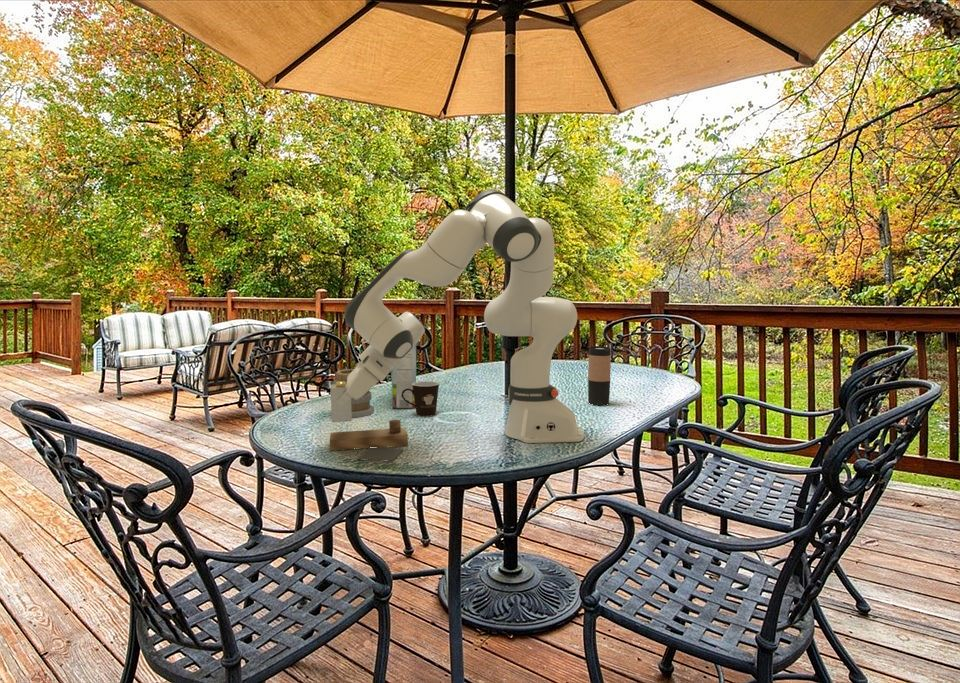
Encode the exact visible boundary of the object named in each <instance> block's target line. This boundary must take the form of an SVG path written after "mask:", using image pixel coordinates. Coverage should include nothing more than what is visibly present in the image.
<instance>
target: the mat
mask: <svg viewBox="0 0 960 683" xmlns="http://www.w3.org/2000/svg"><path fill="white" fill-rule="evenodd" d="M403 451H404V448H395V447H394V448H393V447H391V448H390V447H382V448H368V449H366V450H365V451H364V452H363V453H362V454H361V455H360V456H359V457H358V458H357V460H358V459H368V460H388V461H387V462H391V461H394V460H395V459H396V460H397V458H398V457H399V456H400V455H401V454H402V453H403ZM400 453H401V454H400ZM399 454H400V455H399ZM398 455H399V456H398ZM397 456H398V457H397ZM396 457H397V458H396ZM396 460H395V461H396ZM395 461H394V462H395Z"/></svg>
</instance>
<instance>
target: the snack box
mask: <svg viewBox="0 0 960 683" xmlns="http://www.w3.org/2000/svg"><path fill="white" fill-rule="evenodd" d="M415 382H417V344H416V345H415V346H414V347H413V348H412V349H411V351H410V352H409V353H408V354H407V355H405V356H404V357H403V358H401V359H400V360H399V361H398V363H397V365H396V366H395V367H394V368H393V369H392V371H391V401H392V409H416V408H415V407H414V406H413V405H411V404H409V403H407V402H406V401H405V400H404V399H403V398H402V391H403V390H405V389H412V390H413V385H412V384H413V383H415ZM403 397H404V398H405V399H406V400H407V401H409V402H411V403H413V404H415V400H414V395H413V393H412V392H411V391H409V390H407V391H405V392H404V394H403Z"/></svg>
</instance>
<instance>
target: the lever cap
mask: <svg viewBox="0 0 960 683" xmlns="http://www.w3.org/2000/svg"><path fill="white" fill-rule="evenodd" d="M329 388H330V403H331V406H330V407H331V409H330V410H331V413H330V414H331V423H342V422H343V423H344V422H352V420H353V418H352V412H351V399H350V400H348V401H347V402H346V403H345V404H344V405H343V406H339V405H338V404H337V400H338V399H339V398H340V397H341V396H342V395H343V394H344V393H345V392H346V391H347V384H345V382H344V381H339V382H336V384H334V383H333V384H330V387H329Z"/></svg>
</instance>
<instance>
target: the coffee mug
mask: <svg viewBox="0 0 960 683" xmlns="http://www.w3.org/2000/svg"><path fill="white" fill-rule="evenodd" d="M412 385H413V390H412V389H405V390H403V391H402V398H403V399H404V400H405V401H406V402H407V403H409V404H411V405H413V406H414V407H415V408H414V409H415V412H416V413H415V414H416V415H417V416H420V417H431V415H432V416H436V414H437V406H438V396H439V386H440V383H439V382H437V381H424V380H423V381H416V382H415V383H413V384H412ZM407 390H409V391H411V392H412V393H413V395H414V400H415V404H413V403H411V402H409V401H407V400H406V399H405V398H404V397H403V394H404V392H405V391H407Z"/></svg>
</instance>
